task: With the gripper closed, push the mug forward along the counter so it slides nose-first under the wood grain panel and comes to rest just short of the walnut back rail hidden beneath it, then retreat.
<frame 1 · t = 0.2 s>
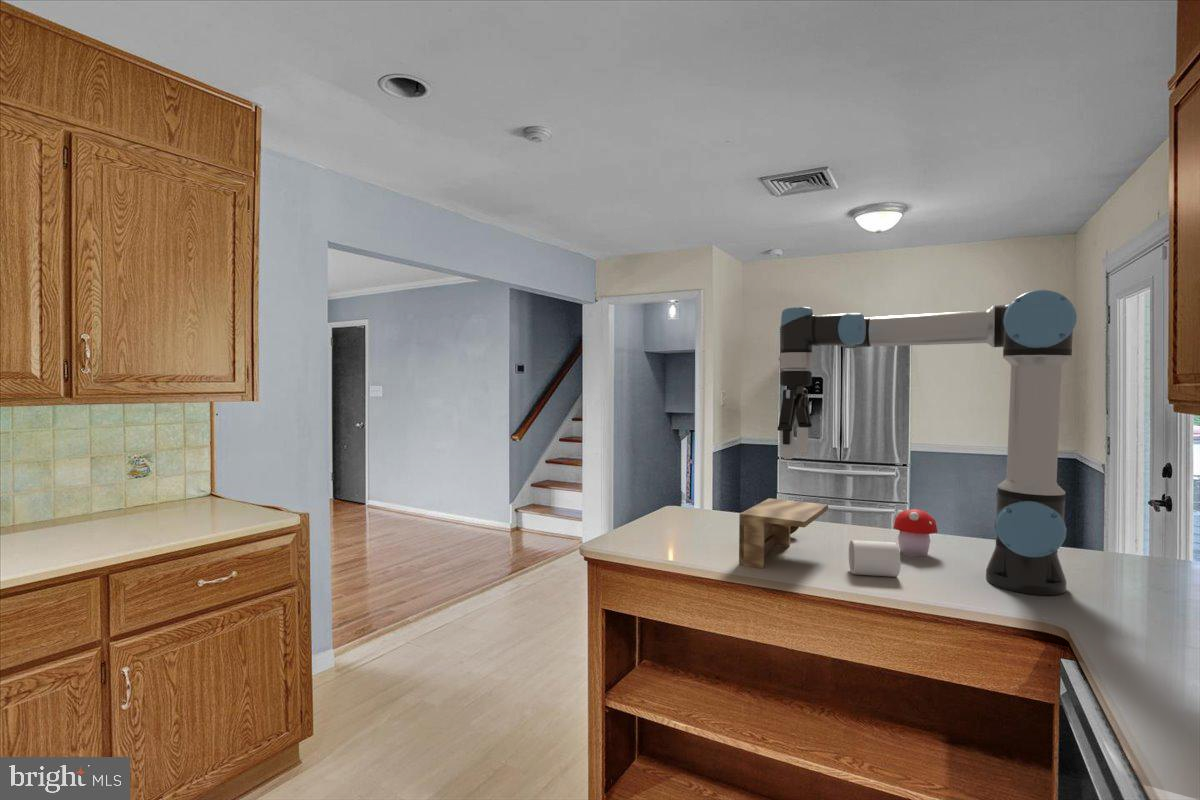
hand: (795, 455, 156), 28 cm above the worktop, fingers open, 13 cm apart
mug: (871, 573, 151), on the worktop
wood grain panel: (784, 558, 162), on the worktop
mushroom: (914, 553, 167), on the worktop
potato: (782, 537, 185), on the worktop
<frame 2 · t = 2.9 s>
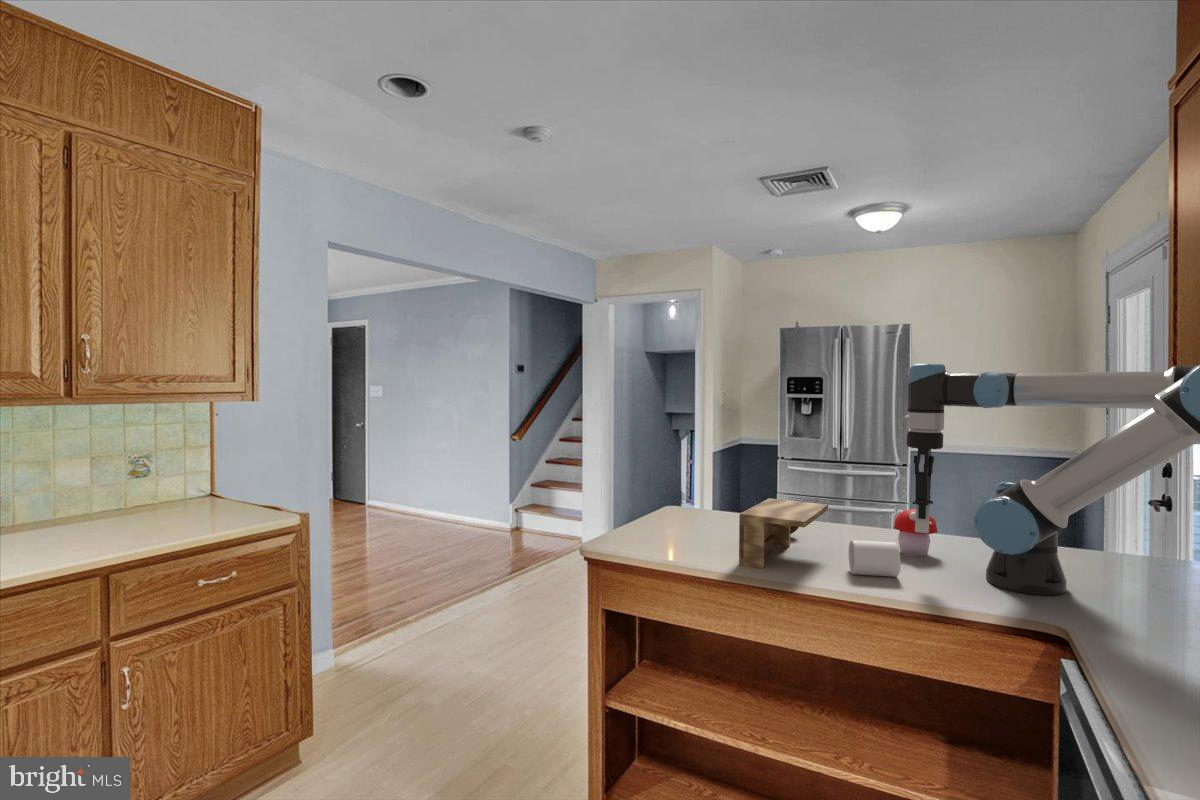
hand: (921, 531, 145), 11 cm above the worktop, fingers closed
nothing on the worktop moved.
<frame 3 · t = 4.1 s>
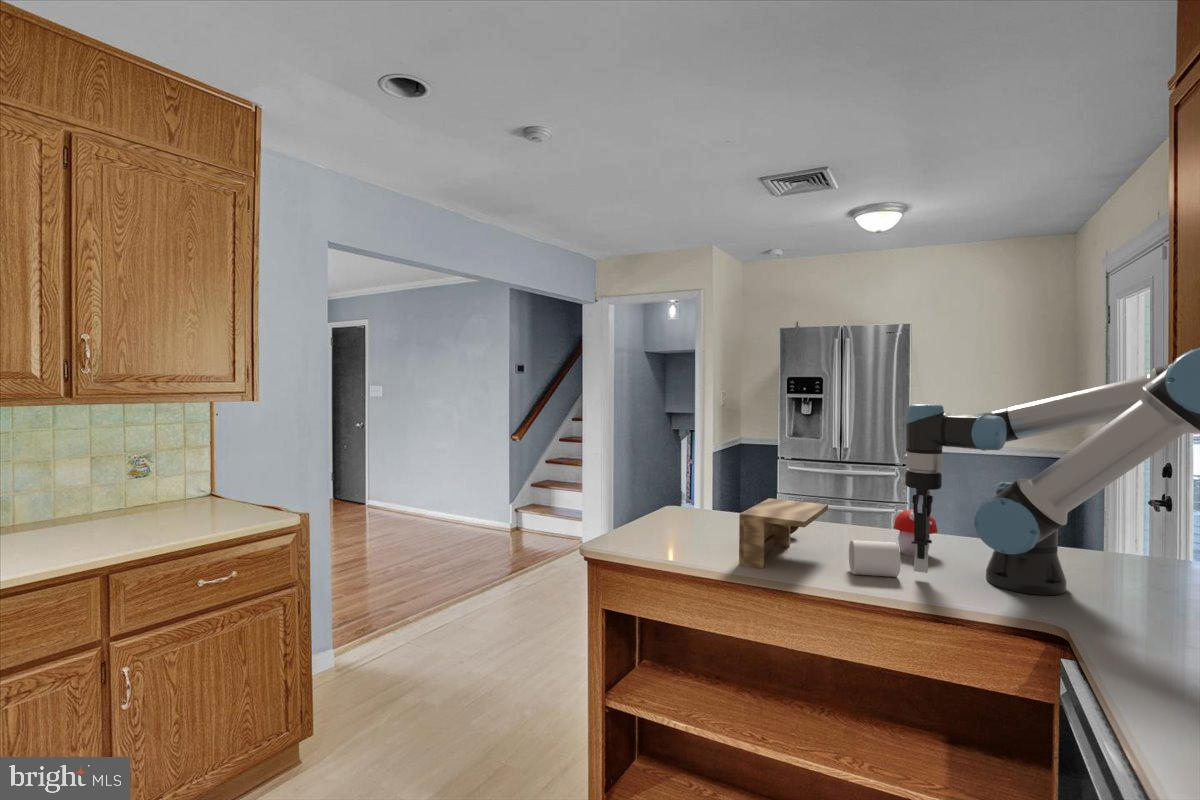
hand: (920, 571, 145), 2 cm above the worktop, fingers closed
nothing on the worktop moved.
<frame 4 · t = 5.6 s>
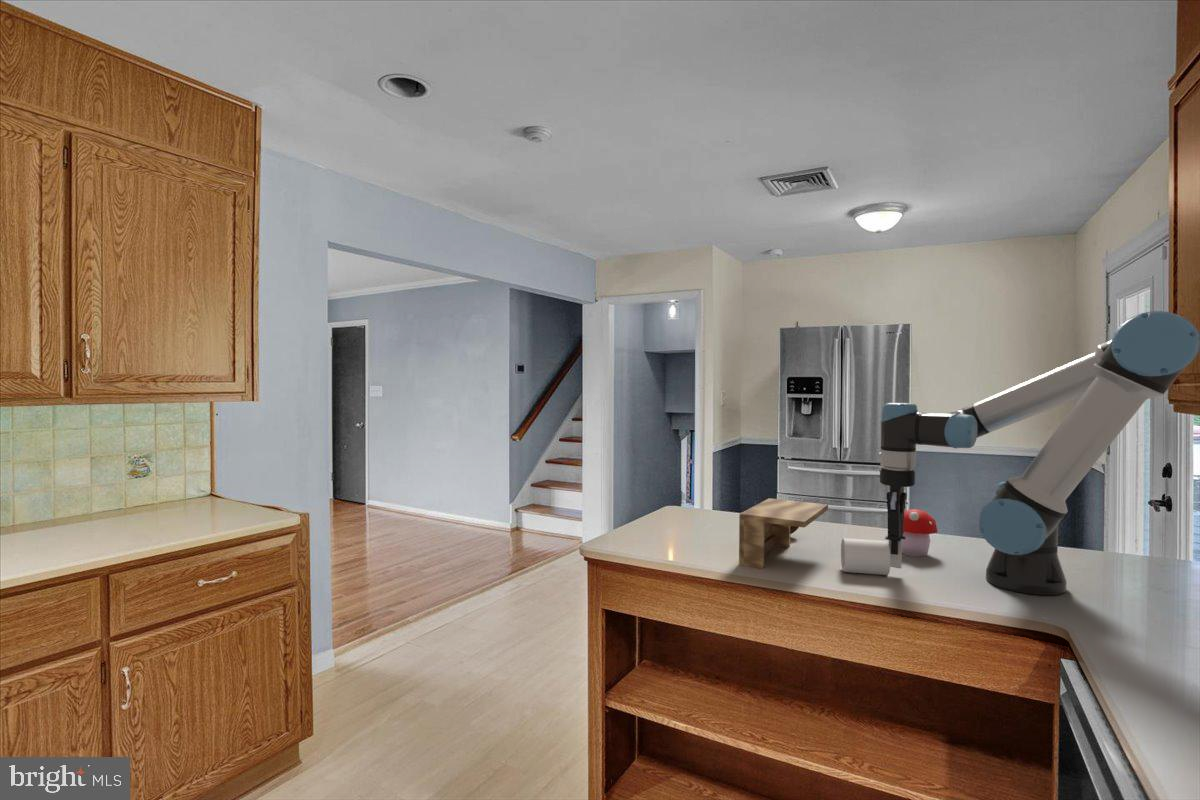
hand: (894, 566, 148), 2 cm above the worktop, fingers closed
mug: (863, 571, 152), on the worktop, touching gripper
everything else where it was.
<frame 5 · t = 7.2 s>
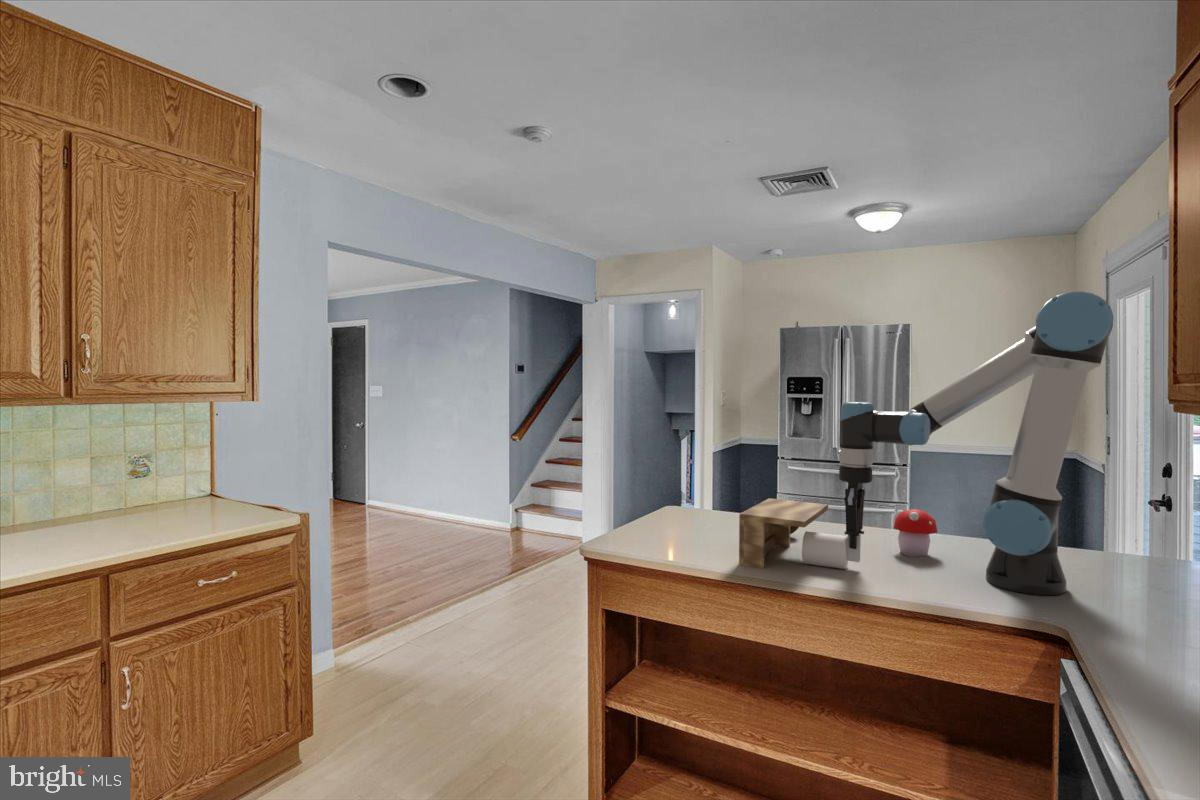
hand: (853, 560, 153), 2 cm above the worktop, fingers closed
mug: (826, 564, 158), on the worktop, touching gripper
everything else where it was.
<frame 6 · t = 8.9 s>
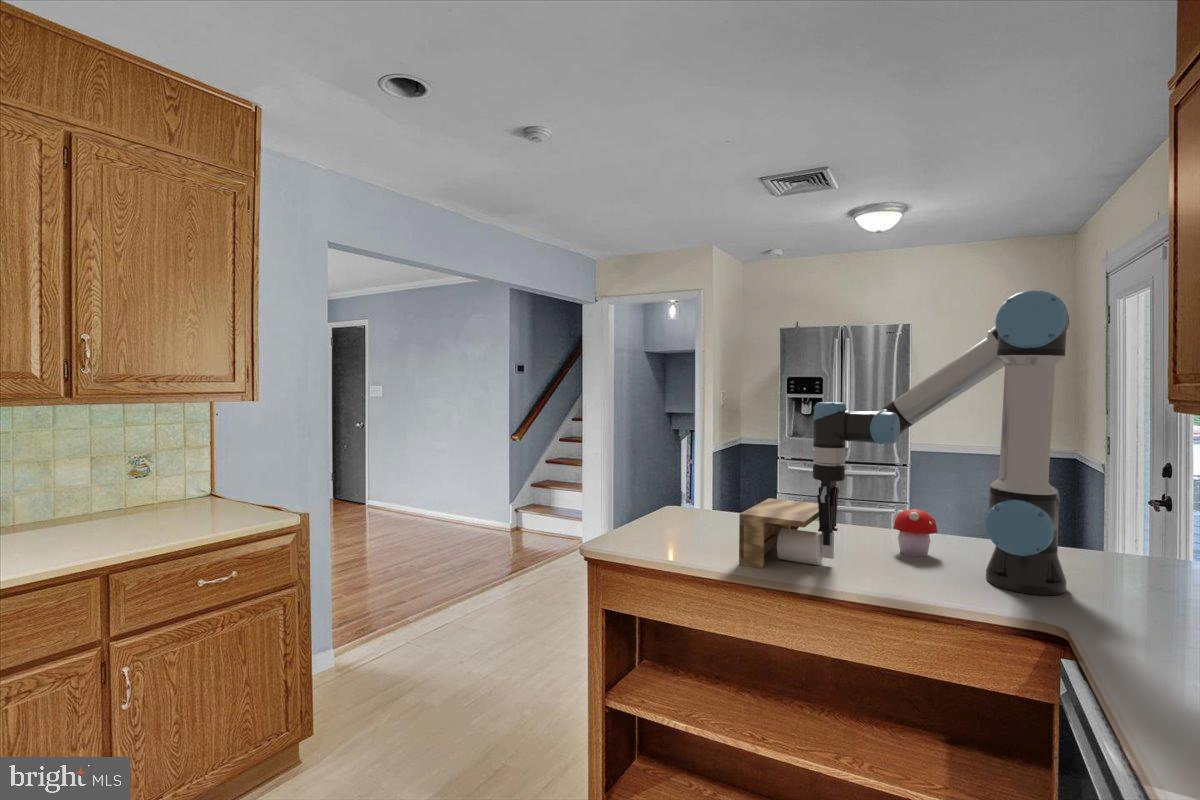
hand: (827, 557, 157), 2 cm above the worktop, fingers closed
mug: (802, 560, 161), on the worktop, touching gripper
everything else where it was.
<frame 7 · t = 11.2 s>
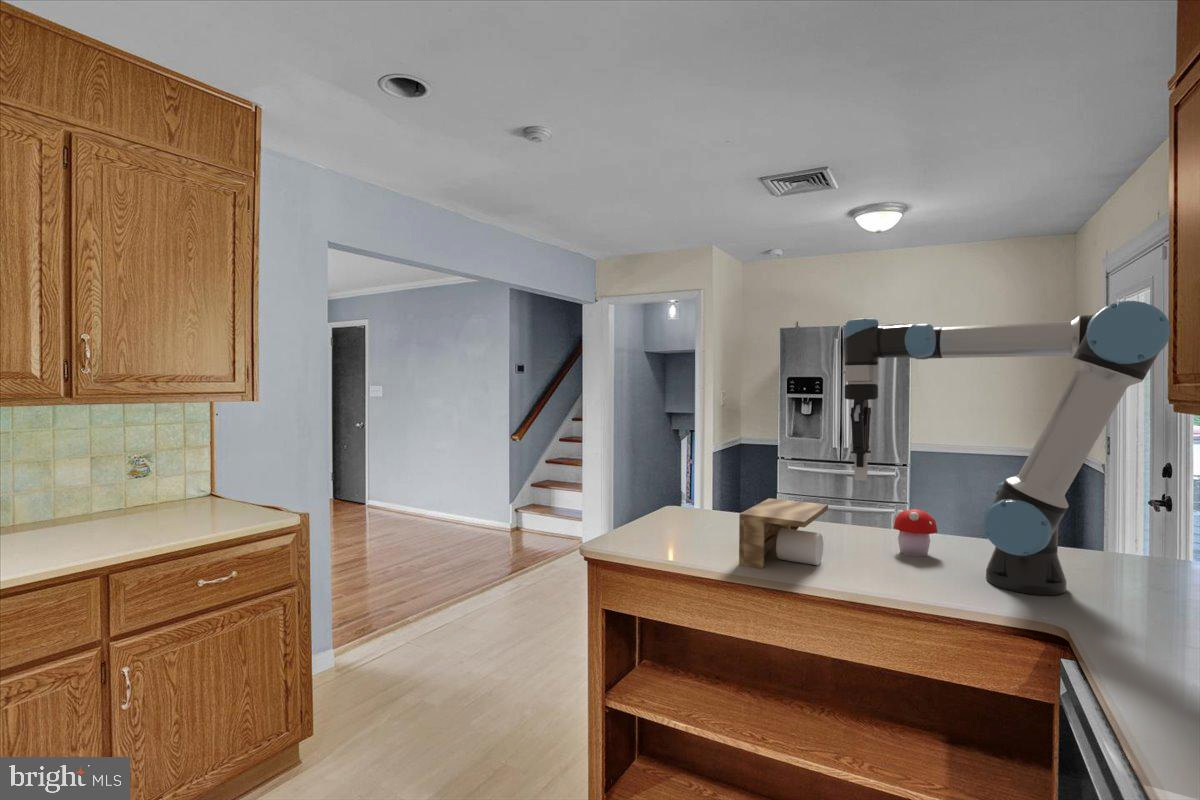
hand: (860, 480, 152), 22 cm above the worktop, fingers closed
mug: (801, 560, 161), on the worktop
everything else where it was.
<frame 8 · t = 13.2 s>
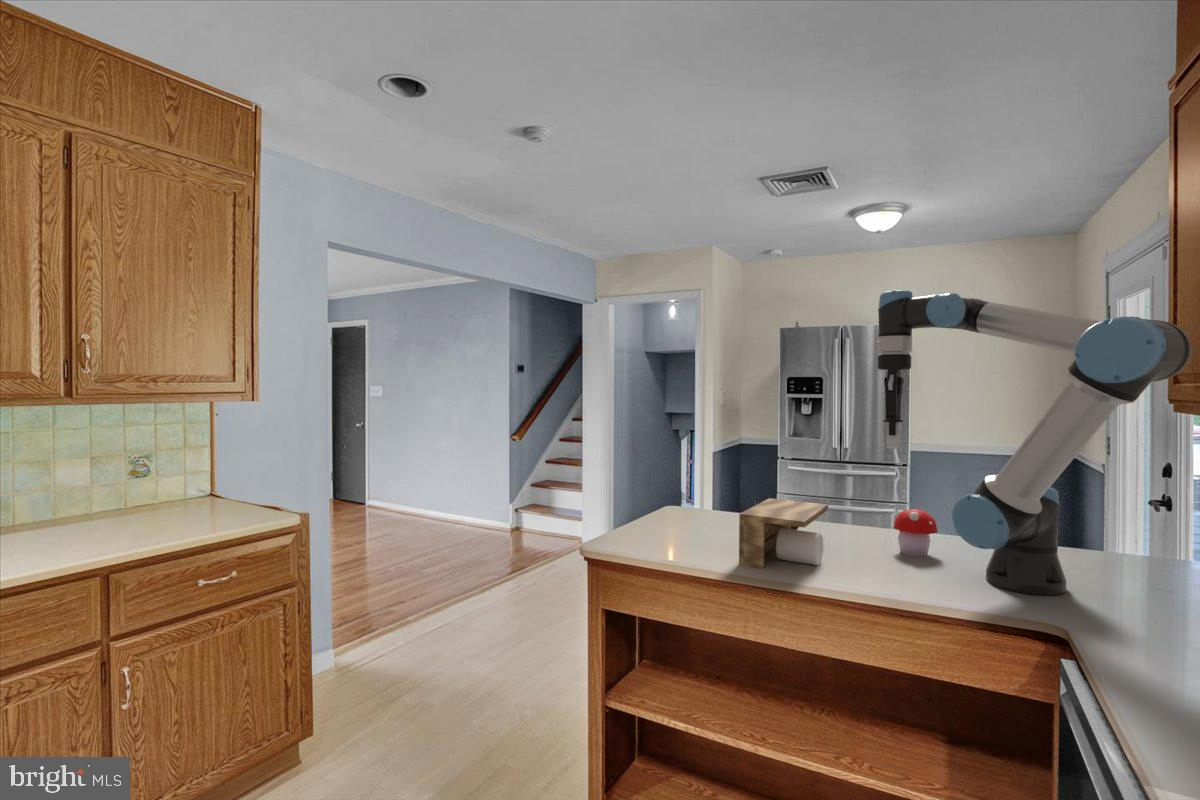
hand: (892, 448, 156), 29 cm above the worktop, fingers closed
nothing on the worktop moved.
at the end: mug inside the target area on the wood grain panel (1.2 cm from its centre), point 0.0 cm above the wood grain panel's base; mug tilted 0° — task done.
